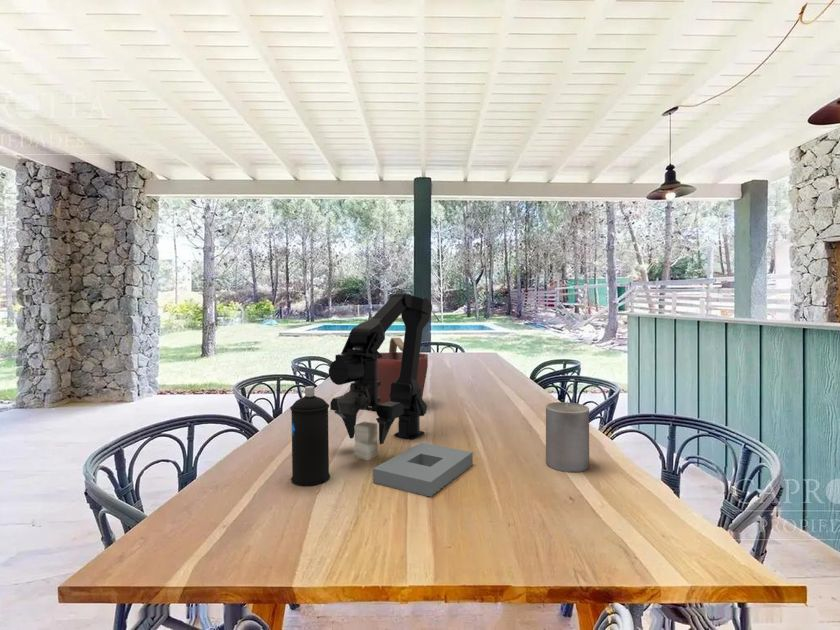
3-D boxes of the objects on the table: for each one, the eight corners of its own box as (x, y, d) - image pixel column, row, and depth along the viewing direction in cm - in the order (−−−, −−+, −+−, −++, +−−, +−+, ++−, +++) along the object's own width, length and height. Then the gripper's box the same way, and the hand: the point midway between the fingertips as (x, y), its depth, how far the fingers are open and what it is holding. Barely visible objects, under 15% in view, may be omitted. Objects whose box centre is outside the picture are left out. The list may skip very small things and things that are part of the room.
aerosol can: (337, 473, 101) (336, 384, 100) (317, 488, 93) (315, 391, 92) (305, 469, 103) (304, 382, 102) (283, 483, 95) (281, 389, 95)
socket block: (421, 454, 113) (421, 442, 113) (472, 464, 106) (472, 452, 106) (373, 482, 96) (372, 468, 96) (430, 497, 88) (430, 482, 88)
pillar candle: (558, 454, 112) (558, 394, 112) (596, 464, 105) (596, 400, 105) (537, 465, 106) (537, 401, 105) (577, 476, 99) (577, 408, 98)
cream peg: (364, 452, 114) (364, 421, 114) (377, 455, 112) (377, 423, 112) (354, 457, 111) (354, 425, 111) (367, 460, 109) (367, 427, 109)
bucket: (427, 416, 149) (427, 341, 148) (360, 416, 149) (360, 341, 148) (427, 400, 173) (427, 335, 172) (370, 400, 173) (369, 335, 172)
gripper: (314, 379, 109) (315, 444, 109) (377, 387, 99) (377, 457, 100) (344, 373, 118) (345, 432, 119) (404, 379, 109) (404, 443, 109)
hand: (366, 440), depth 112 cm, fingers open, 9 cm apart
